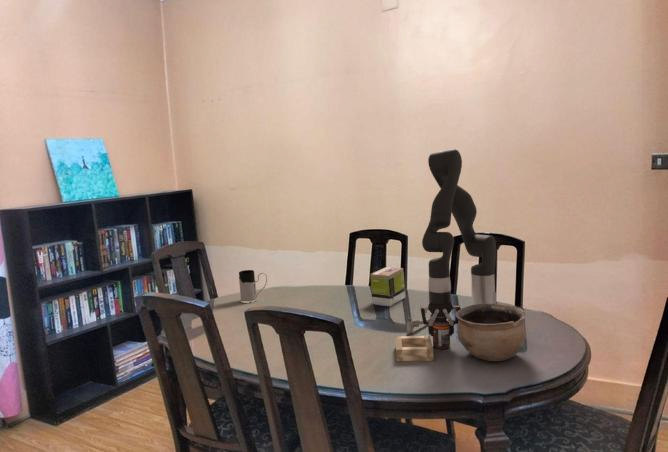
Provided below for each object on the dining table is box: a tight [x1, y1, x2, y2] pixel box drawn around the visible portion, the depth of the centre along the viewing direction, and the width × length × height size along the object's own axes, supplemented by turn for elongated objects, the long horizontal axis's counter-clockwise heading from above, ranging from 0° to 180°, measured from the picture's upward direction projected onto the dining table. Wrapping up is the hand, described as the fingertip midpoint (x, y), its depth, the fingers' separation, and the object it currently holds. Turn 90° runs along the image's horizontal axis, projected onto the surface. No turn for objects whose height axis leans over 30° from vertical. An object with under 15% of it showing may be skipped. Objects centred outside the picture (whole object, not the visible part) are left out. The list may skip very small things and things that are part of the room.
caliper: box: [406, 317, 430, 336], centre depth 191 cm, size 20×1×6 cm, turn 137°
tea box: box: [370, 266, 406, 307], centre depth 227 cm, size 15×10×15 cm
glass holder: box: [238, 269, 268, 301], centre depth 242 cm, size 9×14×15 cm, turn 96°
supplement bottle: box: [432, 316, 451, 350], centre depth 170 cm, size 6×6×11 cm
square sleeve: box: [394, 335, 434, 362], centre depth 166 cm, size 12×12×4 cm
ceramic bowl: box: [455, 303, 527, 362], centre depth 159 cm, size 22×22×15 cm
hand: (441, 335), depth 170 cm, fingers closed on supplement bottle, 6 cm apart
